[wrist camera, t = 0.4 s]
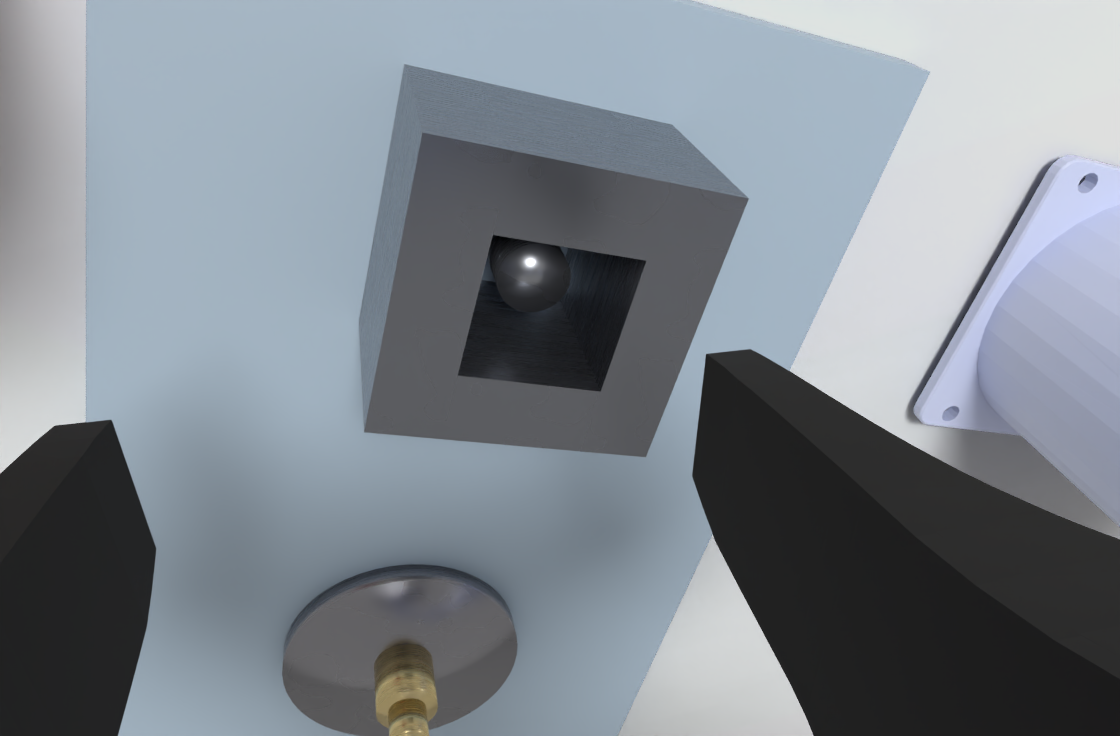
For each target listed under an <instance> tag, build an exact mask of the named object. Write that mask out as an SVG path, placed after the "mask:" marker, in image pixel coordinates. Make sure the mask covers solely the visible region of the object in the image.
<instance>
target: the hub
mask: <svg viewBox="0 0 1120 736" xmlns="http://www.w3.org/2000/svg"><path fill="white" fill-rule="evenodd" d="M516 656H517V636H516V631H515V627H514V622H513V618H512V615H511V612H510V609H509V607H508V605H507V604H506V602H505V600H504V599H503V598H502V597H501V595H500V594H499V593H498V592H497V591H496V590H495V589H494V588H492V587H491V586H490V585H489V584H487V583H486V582H484V581H482V580H481V579H479V578H477V577H475V576H473V575H471V574H468V573H466V572H463V571H460V570H456V569H453V568H448V567H443V566H436V565H425V564H407V565H397V566H389V567H384V568H379V569H374V570H371V571H367V572H364V573H361V574H358V575H355V576H353V577H350V578H348V579H345V580H343V581H341V582H339V583H337V584H335V585H334V586H332V587H330V588H328V589H327V590H325V591H324V592H322V593H321V594H319V595H318V596H317V597H316V598H314V599H313V600H312V601H311V602H310V603H308V604H307V605H306V607H305V608H304V609H303V610H302V611H301V612H300V613H299V614H298V616H297V617H296V619H295V620H294V622H293V623H292V624H291V627H290V629H289V631H288V633H287V635H286V639H285V643H284V651H283V667H282V677H283V684H284V687H285V689H286V692H287V694H288V696H289V698H290V699H291V701H292V703H293V704H294V705H295V706H296V707H297V708H298V709H299V710H300V711H301V712H302V713H303V714H305V715H306V716H307V717H308V718H310V719H312V720H313V721H315V722H317V723H318V724H320V725H323V726H325V727H327V728H330V729H333V730H336V731H339V732H343V733H347V734H353V735H359V736H429V730H431V729H434V728H438V727H441V726H443V725H446V724H448V723H451V722H453V721H455V720H457V719H459V718H461V717H463V716H465V715H467V714H469V713H470V712H472V711H474V710H475V709H477V708H478V707H480V706H481V705H482V704H484V703H485V702H486V701H488V700H489V699H490V698H491V697H492V696H493V695H494V694H495V693H496V692H497V691H498V690H499V689H500V687H501V686H502V685H503V684H504V682H505V681H506V679H507V678H508V676H509V675H510V673H511V670H512V668H513V666H514V663H515V660H516Z"/></svg>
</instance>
